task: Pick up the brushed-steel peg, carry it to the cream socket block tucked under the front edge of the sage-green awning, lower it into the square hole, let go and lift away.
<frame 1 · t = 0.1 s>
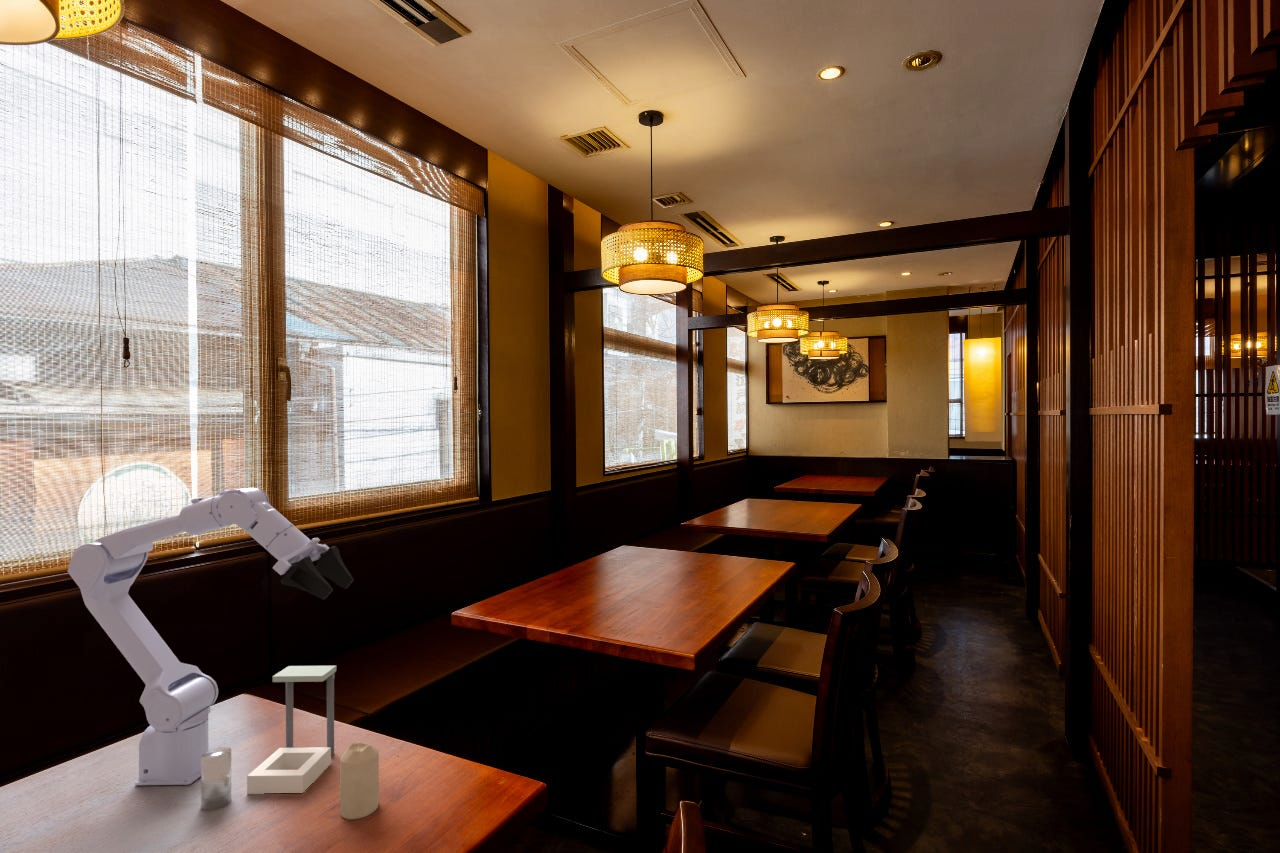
hand: (339, 589, 109), 32 cm above the table, tool tilted 50°, fingers open, 7 cm apart
socket block: (290, 778, 107), on the table
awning: (305, 758, 113), on the table
peg: (216, 803, 100), on the table
candle: (359, 810, 98), on the table
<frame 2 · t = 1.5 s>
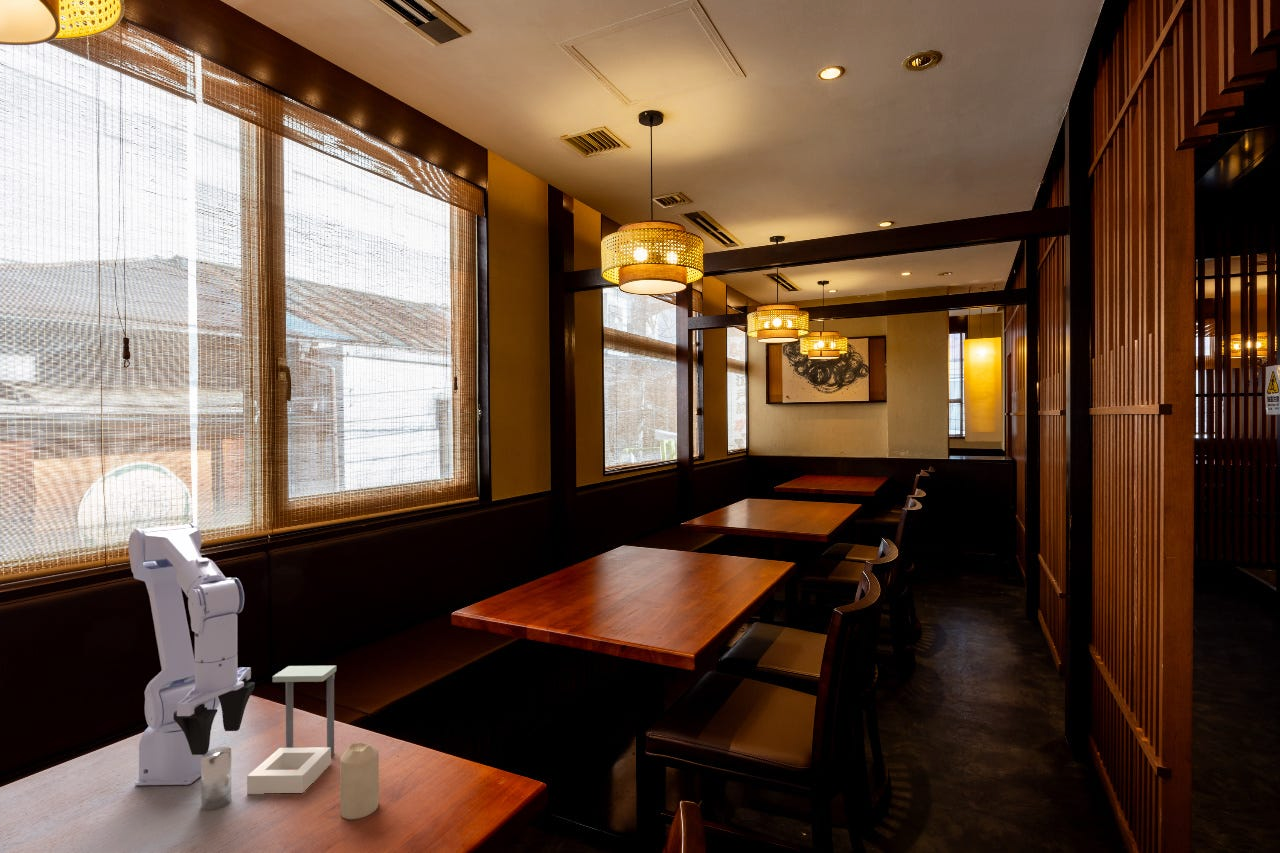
hand: (216, 741, 100), 10 cm above the table, tool pointing down, fingers open, 7 cm apart
nothing on the table moved.
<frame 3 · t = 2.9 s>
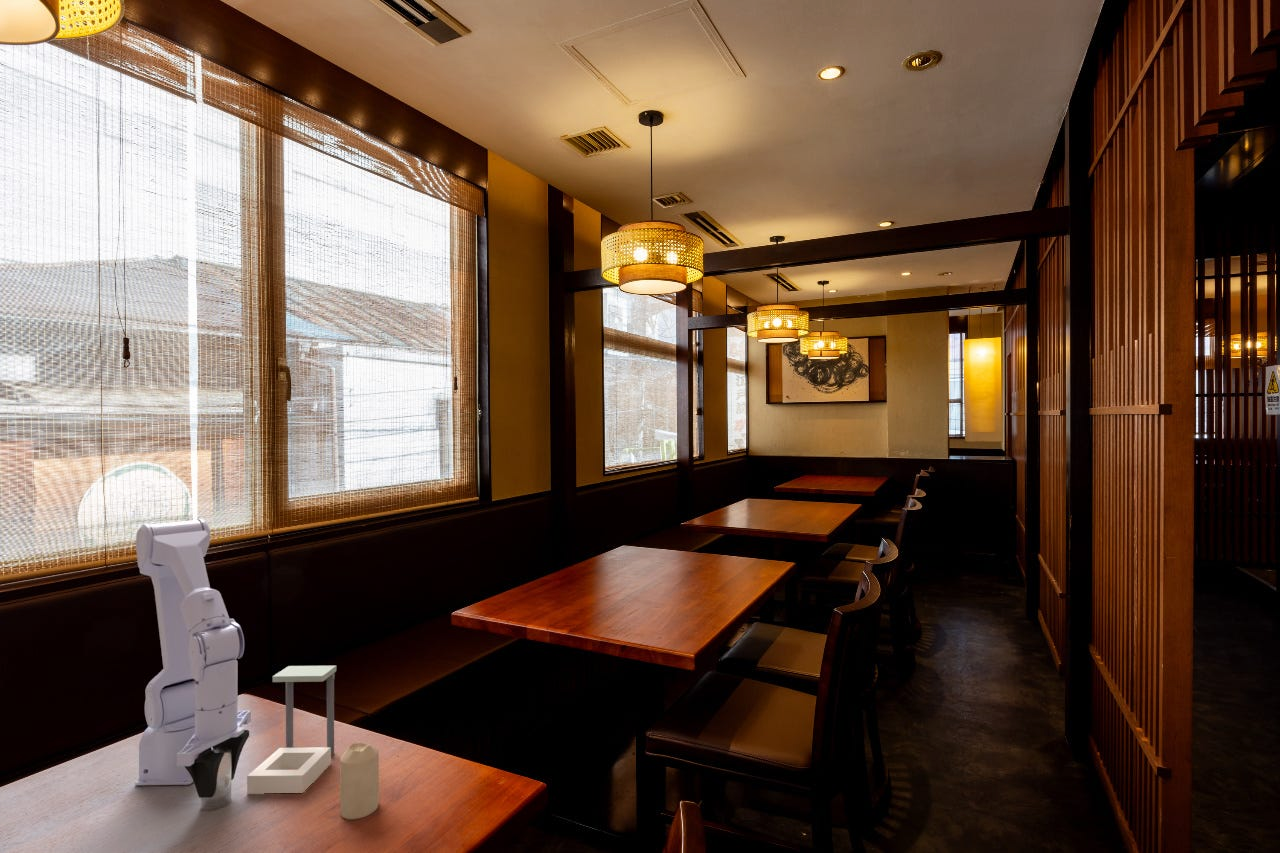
hand: (216, 788, 100), 2 cm above the table, tool pointing down, fingers closed on peg, 4 cm apart
peg: (216, 803, 100), on the table, touching gripper
everything else where it was.
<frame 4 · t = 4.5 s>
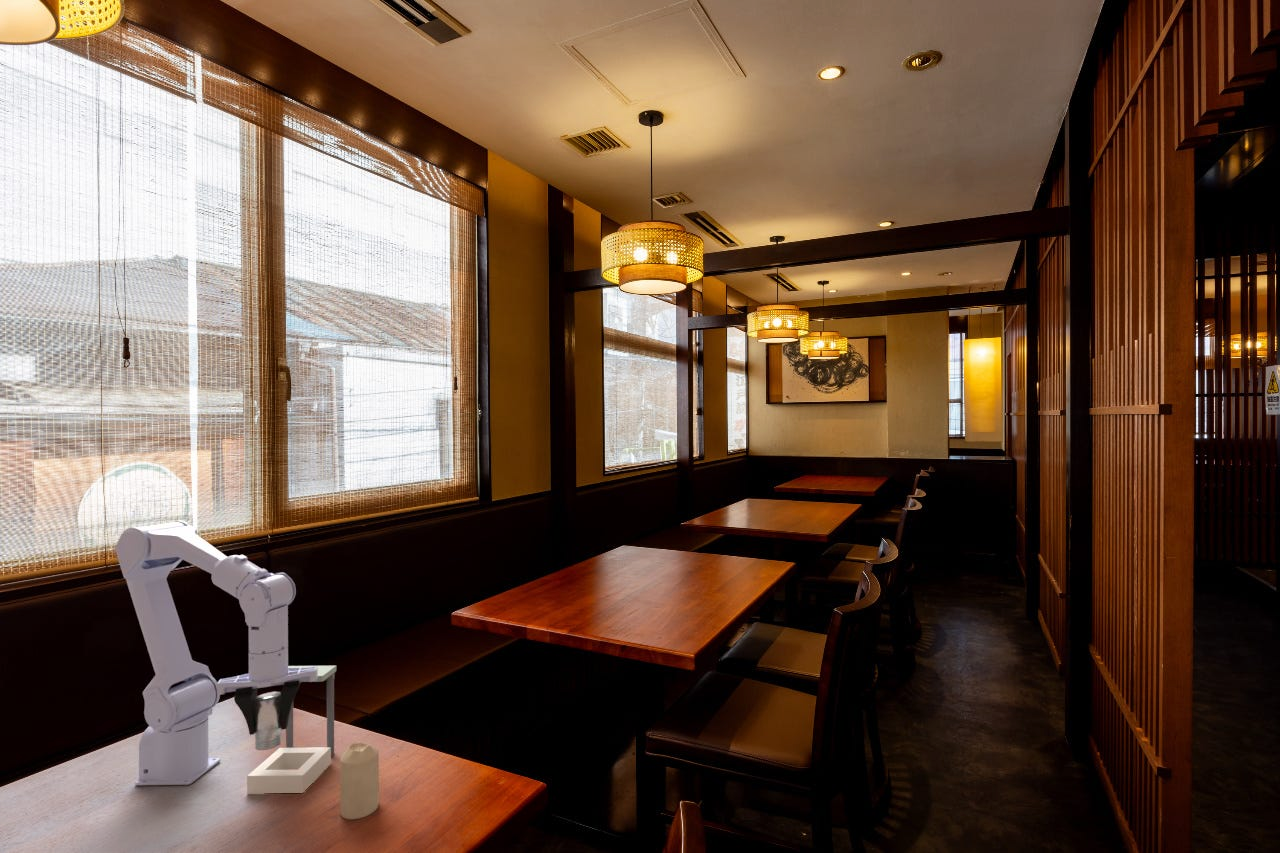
hand: (269, 729, 105), 9 cm above the table, tool pointing down, fingers closed on peg, 4 cm apart
peg: (269, 744, 105), point 7 cm above the table, touching gripper
everything else where it was.
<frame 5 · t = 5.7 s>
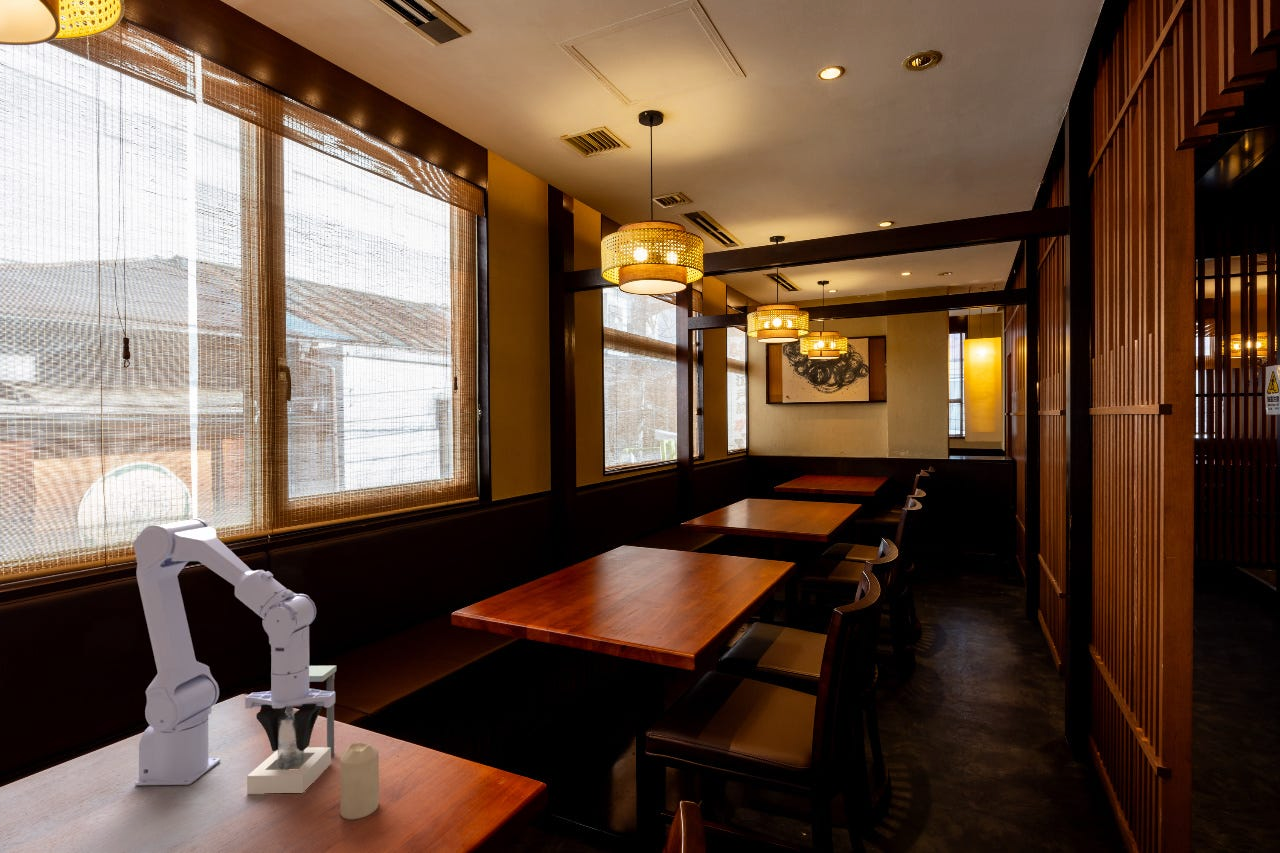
hand: (290, 748, 107), 5 cm above the table, tool pointing down, fingers closed on peg, 4 cm apart
peg: (291, 762, 107), point 3 cm above the table, touching gripper
everything else where it was.
when the fingers open (4 cm above the table, at t = 6.5 s): peg drops 1 cm, resting in socket block.
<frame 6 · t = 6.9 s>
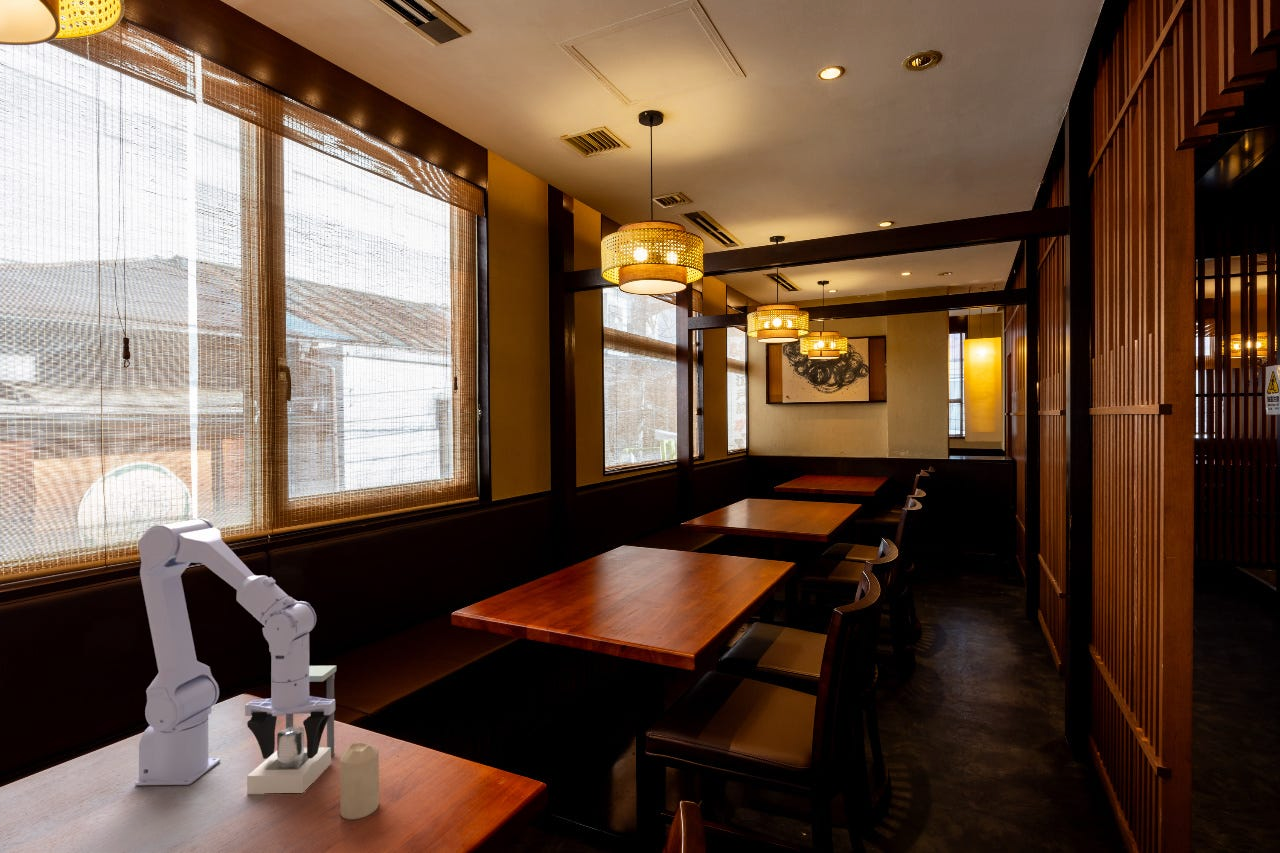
hand: (290, 755, 107), 4 cm above the table, tool pointing down, fingers open, 7 cm apart
peg: (290, 778, 107), resting in socket block
everything else where it was.
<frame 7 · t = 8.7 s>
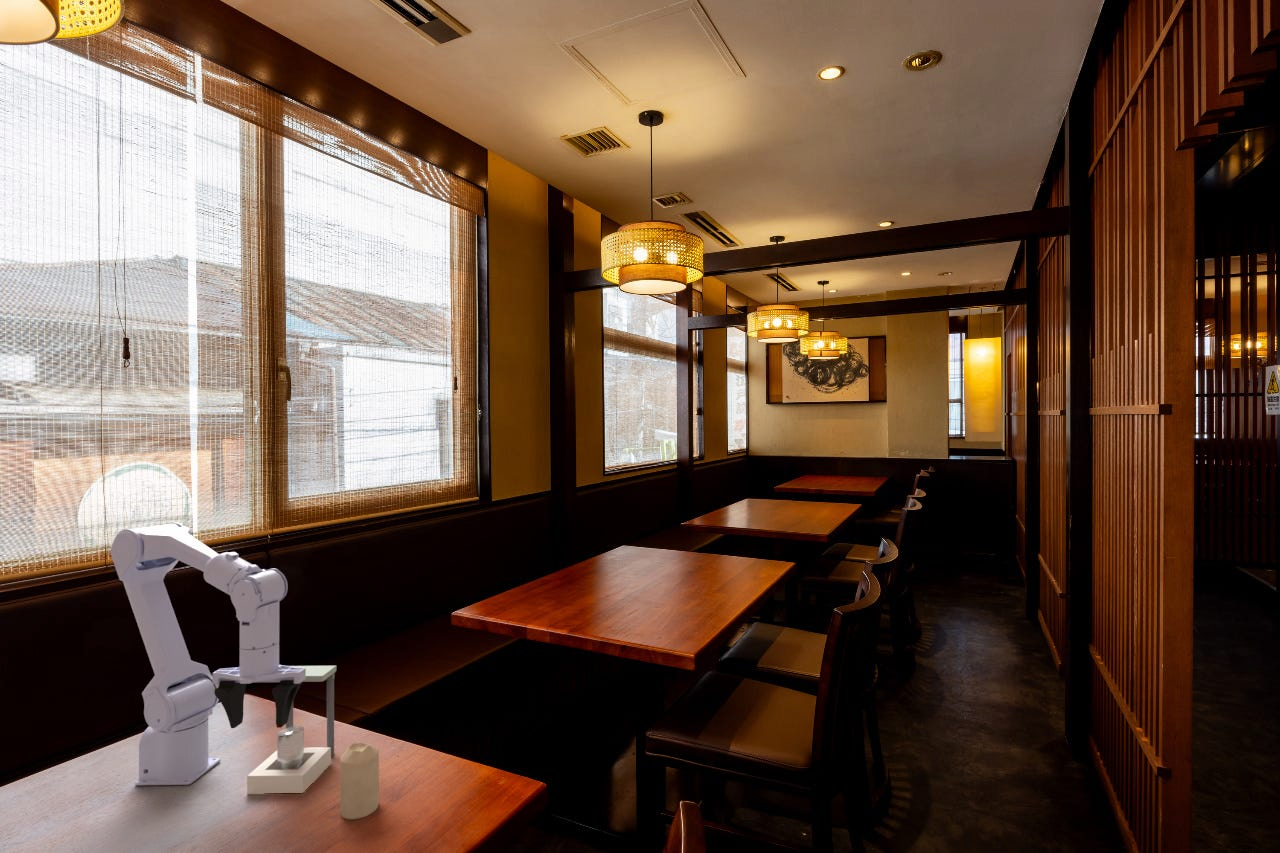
hand: (259, 725, 104), 10 cm above the table, tool pointing down, fingers open, 7 cm apart
nothing on the table moved.
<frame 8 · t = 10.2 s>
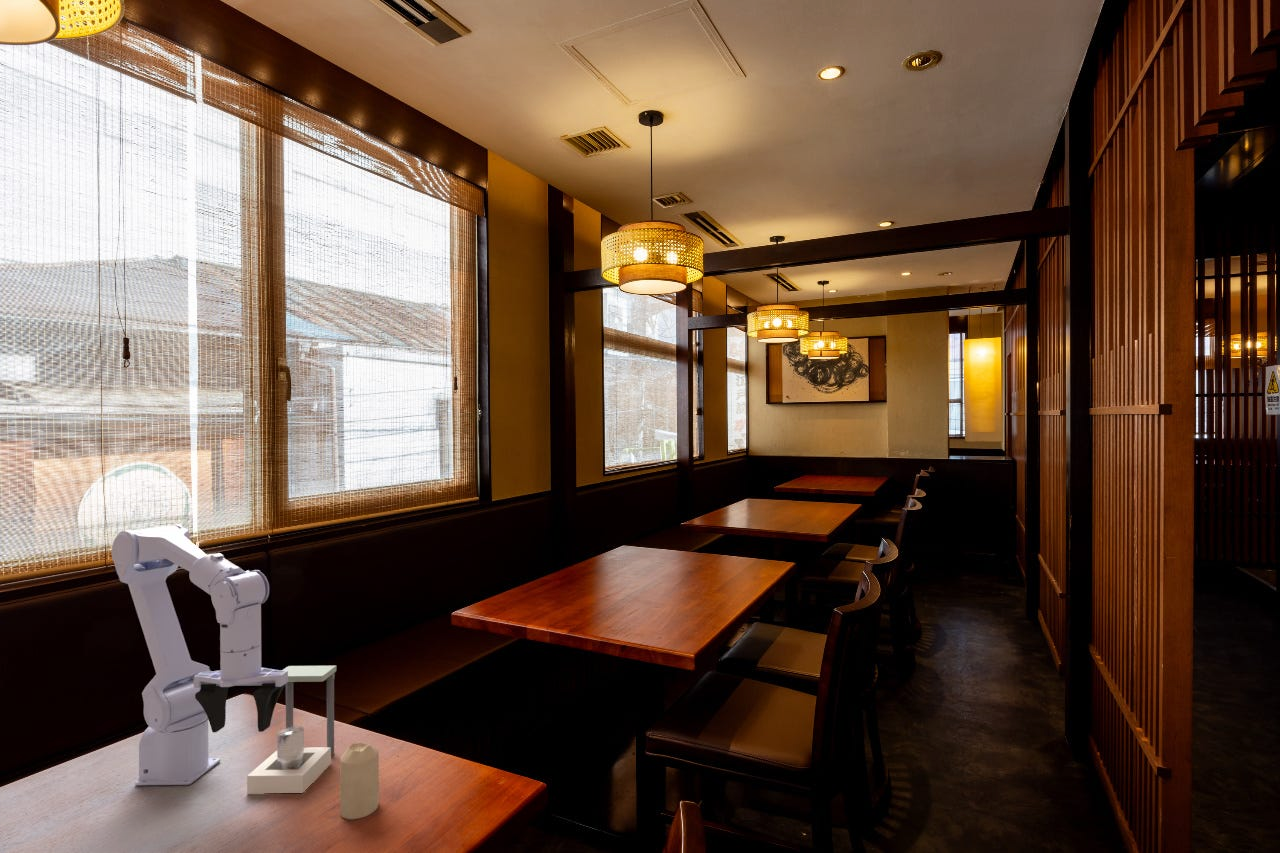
hand: (241, 729, 103), 10 cm above the table, tool pointing down, fingers open, 7 cm apart
nothing on the table moved.
at the end: peg 0.1 cm off-centre on the socket block, point 0.0 cm above the socket block's base; peg tilted 0°; the gripper is holding nothing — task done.
